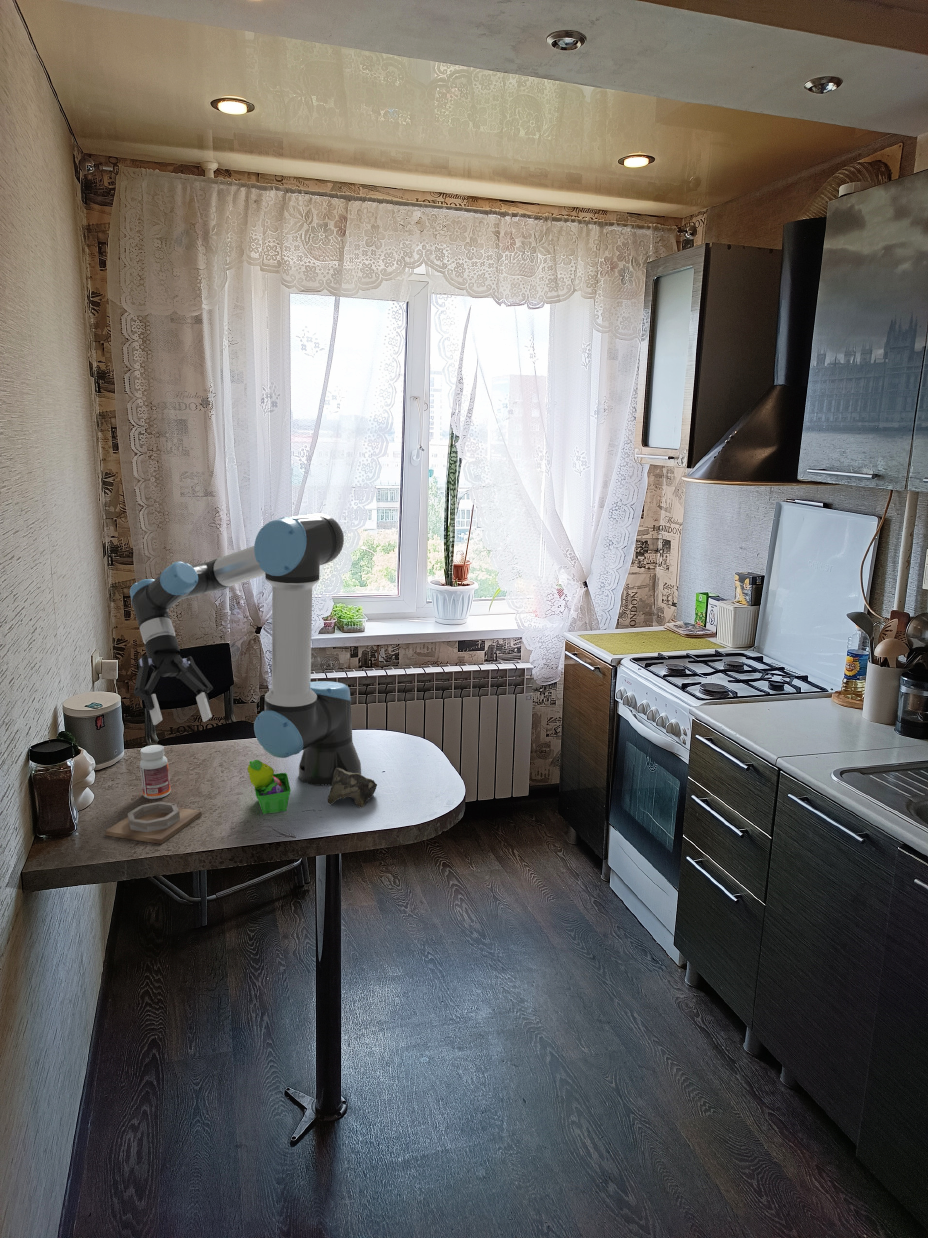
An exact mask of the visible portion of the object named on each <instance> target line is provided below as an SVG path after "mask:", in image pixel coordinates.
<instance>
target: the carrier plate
mask: <svg viewBox="0 0 928 1238" xmlns="http://www.w3.org/2000/svg"><path fill="white" fill-rule="evenodd" d="M177 805H178V804H177V803H173V802H165V801H157V802H151V803H146V804H142V805H139V806H138V807H136V808H134V809H132V810H131V811H129V812H127V816H125V818H123V819H122V820H120V821H119V822H117V823H115V824H114V825H112V826H111V827H109V828H108V829H106V830H105V831H104V833H105V834H104V835H105V836H107V837H114V838H120V839H121V838H122V839H128V840H132V841H133V840H134V841H140V842H148V843H153V844H160V845H162V844H163V843H165V842H166V841H168V840H169V839H171V838H172V837H174V836H175V835H176V834H178V833H179V832H181V831H182V830H183V829H185V827H188V826H189V825H191V824H192V823H193V822H194V821H196V820H197V819H198V818H200V817H201V816H202V815H203V814H202V811H201V810H195V809H189V808H182V807H178V806H177Z"/></svg>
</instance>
